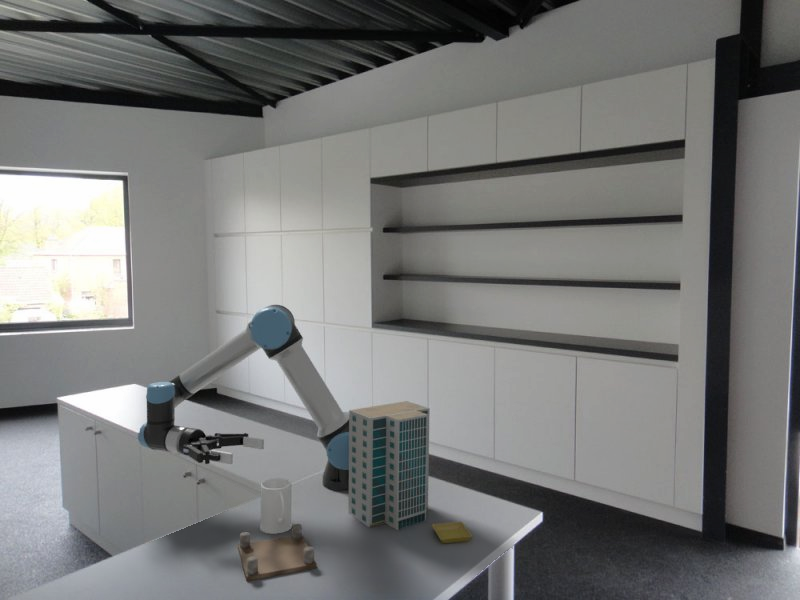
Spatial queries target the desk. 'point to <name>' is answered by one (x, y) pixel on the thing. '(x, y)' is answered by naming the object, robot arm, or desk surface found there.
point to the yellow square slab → (452, 532)
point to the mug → (276, 506)
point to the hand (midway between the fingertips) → (248, 451)
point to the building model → (389, 464)
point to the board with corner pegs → (275, 555)
